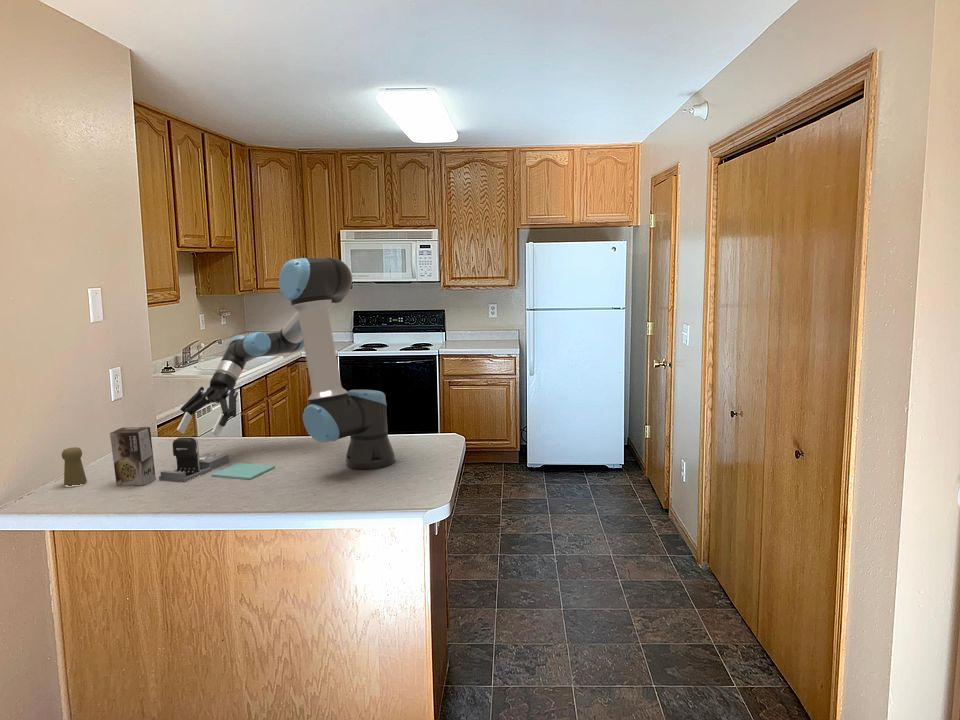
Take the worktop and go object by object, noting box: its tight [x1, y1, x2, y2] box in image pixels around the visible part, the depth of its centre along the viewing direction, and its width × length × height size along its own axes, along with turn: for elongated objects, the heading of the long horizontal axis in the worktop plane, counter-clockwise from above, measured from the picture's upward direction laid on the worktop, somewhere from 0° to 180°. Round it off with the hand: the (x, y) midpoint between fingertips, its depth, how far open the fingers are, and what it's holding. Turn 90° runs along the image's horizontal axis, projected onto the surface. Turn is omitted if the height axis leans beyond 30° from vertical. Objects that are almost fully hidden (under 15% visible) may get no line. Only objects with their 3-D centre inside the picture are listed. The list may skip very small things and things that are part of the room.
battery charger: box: [172, 436, 201, 476], centre depth 210 cm, size 7×4×11 cm, turn 83°
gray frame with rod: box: [158, 452, 230, 483], centre depth 215 cm, size 19×20×3 cm
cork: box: [61, 446, 88, 486], centre depth 204 cm, size 6×6×11 cm
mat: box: [211, 462, 276, 481], centre depth 211 cm, size 14×12×1 cm
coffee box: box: [109, 426, 157, 486], centre depth 203 cm, size 9×6×16 cm
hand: (197, 433), depth 216 cm, fingers open, 13 cm apart
